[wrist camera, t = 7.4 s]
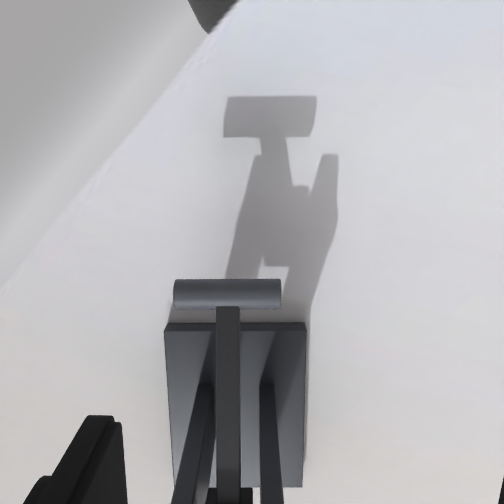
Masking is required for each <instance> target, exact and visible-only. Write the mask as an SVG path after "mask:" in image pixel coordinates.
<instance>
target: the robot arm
mask: <svg viewBox="0 0 504 504" xmlns="http://www.w3.org/2000/svg"><path fill="white" fill-rule="evenodd" d="M23 504H128V501H127V488H126V475H125V461H124V448H123V435H122V425H121V423H120V422H115V421H114V418H113V416H105V415H89V416H87V417H86V418H85V420H84V422H83V423H82V425H81V427H80V428H79V430H78V432H77V433H76V435H75V437H74V439H73V440H72V442H71V444H70V445H69V447H68V449H67V450H66V452H65V454H64V455H63V457H62V459H61V461H60V462H59V464H58V466H57V467H56V469H55V471H54V472H53V474H52V476H43V477H41V478H40V479H39V480H38V481H37V482H36V484H35V485H34V487H33V488H32V490H31V492H30V493H29V495H28V496H27V498H26V500H25V501H24V503H23ZM498 504H504V478H503V483H502V488H501V493H500V497H499V502H498Z"/></svg>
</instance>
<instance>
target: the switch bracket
mask: <svg viewBox="0 0 504 504" xmlns="http://www.w3.org/2000/svg"><path fill="white" fill-rule="evenodd" d="M164 342H165V357H166V372H167V387H168V402H169V417H170V432H171V447H172V462H173V477H174V487H175V488H174V492H173V496H172V501H171V504H205V502H206V497H207V492H208V488H216V323H167V325H166V328H165V330H164ZM305 368H306V327H305V323H240V400H241V487H260V504H284V498H283V487H302V480H303V443H304V405H305Z"/></svg>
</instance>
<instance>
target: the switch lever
mask: <svg viewBox="0 0 504 504" xmlns="http://www.w3.org/2000/svg"><path fill="white" fill-rule="evenodd" d="M173 302H174V307H175V309H176V310H216V488H208V492H207V497H206V502H205V504H253V489H252V488H251V487H241V400H240V309H281V280H280V279H177V280H175V283H174V288H173Z"/></svg>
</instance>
